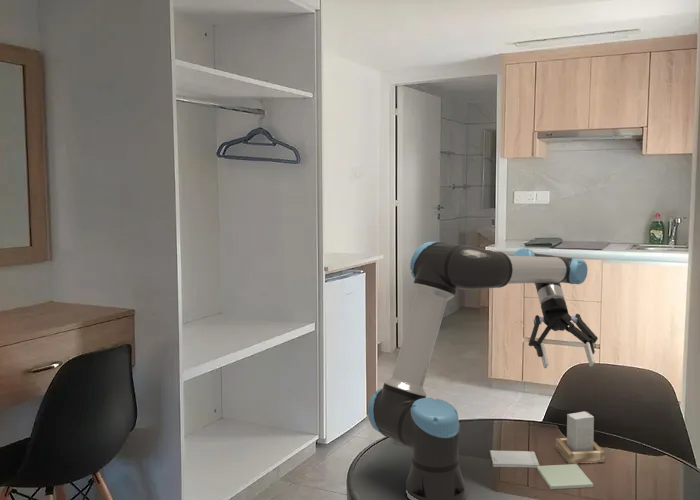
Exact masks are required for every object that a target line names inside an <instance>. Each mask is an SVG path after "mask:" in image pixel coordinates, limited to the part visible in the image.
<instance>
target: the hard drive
mask: <svg viewBox="0 0 700 500" xmlns="http://www.w3.org/2000/svg"><path fill="white" fill-rule="evenodd" d="M489 455H490V460H491V464H492V467H493V468H532V469H534V468H535V469H537V466H540V462H539V460H538V457H537V455H536V453H535V451H529V450H528V451H527V450H525V451H523V450H493V449H492V450H489Z"/></svg>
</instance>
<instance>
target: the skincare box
mask: <svg viewBox="0 0 700 500" xmlns="http://www.w3.org/2000/svg"><path fill="white" fill-rule="evenodd" d="M566 418H567V419H566V438H567V447H568V448H569V449H570V450H571V452H582V451H593V441H594V440H595V439H594V438H595V437H594V436H595V435H594V434H595V432H594V430H595V429H594V428H595V426H594V424H595V416H593V415H592V414H590V413H589V412H588V411H579V412H573V413H567V414H566Z"/></svg>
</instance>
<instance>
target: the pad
mask: <svg viewBox="0 0 700 500" xmlns="http://www.w3.org/2000/svg"><path fill="white" fill-rule="evenodd" d="M536 470H537V472H538V473H539V475H540V476H541V478H542V479H543V480H544V482H545V483H546V484H547V486H548V487H549V489H550V490H563V489H564V490H565V489H580V488H581V489H583V488H585V489H586V488H594V483H593V482H592V481H591V480H590V479H589V477H588V476H587V475H586V473H585V472H584V471H583V470H582V469H581V468H580V466H579V464H568V463H567V464H554V465H552V464H551V465H550V464H549V465H539V466H537V468H536Z"/></svg>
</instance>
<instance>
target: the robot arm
mask: <svg viewBox="0 0 700 500" xmlns="http://www.w3.org/2000/svg"><path fill="white" fill-rule="evenodd" d="M409 266H410V267H409V269H410V270H411V271H410V273H411V276H412V278H413V279H414V281H413V284H412V285H413V287H414V289H415V291H416V292H415V293H416V294H415V297H414V300H413V304H412V307H411V310H410V314H409V318H408V321H407V324H406V328H405V331H404V334H403V338H402V342H401V345H400V347H399V353H398V356H397V358H396V362H395V365H394V369H393V372H392V375H391V377H390V378H389V379H387V380H385V381H384V383H383V386H382V388H378V389H377V390H376V391H375V393H373V394H372V395H371V397H370V399H369V401H368V405H367V417H368V420H369V422H370V425H371V427H372V428H373V429H374V430H375V431H377V432H378V433H380V434H382V435H383V436H384V437H386V438H390V439H392V440H394V441H396V442H399V443H400V444H403V445H405V446H407V447H409V448H411V466H410V469H409V472H408V476H407V478H406V482H405V487H406V490H407V491H408V493H409V494H410V495H411V496H413V497H414V498H416V499H418V500H465V499H466V497H467V494H466V493H467V488H466V483H465V480H464V478H463V474H462V471H461V469H460V463H459V462H460V459H459V457H460V453H459V452H460V421H459V413H458V410H457V409H456V407H454V406H453V404H451V403H450V402H448V401H446V400H443V399H440V398H433V397H427V393H426V391H425V389H424V383H425V380H426V378H427V373H428V370H429V367H430V363H431V359H432V356H433V352H434V348H435V344H436V342H437V338H438V335H439V331H440V327H441V325H442V321H443V317H444V314H445V310H446V306H447V304H448V301H450V300H451V299H453V298H455V296H456V293H457V289H458V290H464V291H465V290H466V291H467V290H468V291H469V290H471V291H472V290H483V289H499V288H504V287H506V286H507V285H508V284H510V285H511V284H534V286H535V289H536V293H537V294H536V295H537V298H538V300H539V304H540V309H541V312H542V316H539V315H538V314H536V315H535V317H534V319H533V324H534V325H533V328H532V331H531V334H530V338H529V341H528V346H529V347H534V349H535V350H536V355H537V357H538V358H541V361H542V366H543V369H547V368H548V366H549V360H548V359H549V358H548V356H547V352H546V347H545V344H544V343H543V341H544V340H545V338H546V337H547V336H548V335H549V332H550V331H551V330H552V331H554V332H558V331H559V332H561V331H562V332H563V331H566V332H568V333H570V334H571V335H573V336H574V337H575V338H576V339H578V340H579V341H581V342H582V343H583V344H584V346H583V347H584V351H585V354H586V357H587V361H588V365H589V367H593V366H594V364H596V360H595V357H594V354H595V352H596V351H595V350H596V349H595V347H594V345H595V344H596V343H597V341H598V339H599V338H598V336H597V335H596V334H595V333H594V332H593V330H592V329H591V328H590V327H589V326H588V325H587V324H586V323H585V322H584V321H583V319H582V317H581V315H580V313H576V314H575V315H570V314H569V311H568V305H567V302H566V300H565V299H566V298H565V295H564V292H563V288H562V285H561V284H562V283H563V284H570V285H582V284H583V283H584V282H585V281H586V278H587V276H588V265H587V263H586V261H585V260H583V259H580V258H575V257H569V256H568V257H567V256H559V255H552V254H551V255H550V254H543V253H536V252H534V251H533V250H531V249H529V248H527V247H522V248H519V249H517V250H516V251H515V252H514V253H513V255H508V254H506V253H505V252H502V251H494V250H489V249H485V248H480V247H475V246H473V245H468V244H458V243H452V242H451V243H450V242H446V241H445V242H443V241H428V242H425V243H423V244H421V245H419V246H418V248H416V250H415V251H414V253H413V254H412V256H411V259H410V265H409ZM542 322H543V323H544V324H545V325H546V327H545V328H544V330H543V331H542V333H541V335H540V336H539V338H538V339H537V340H536V336H537V334H538V331H539V327H540V325H542ZM576 326H577V327H576Z"/></svg>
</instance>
